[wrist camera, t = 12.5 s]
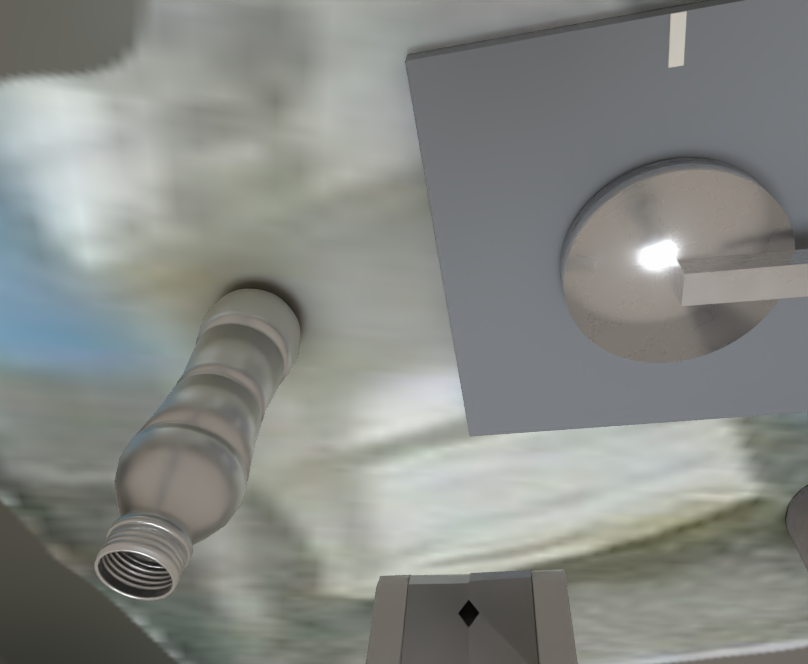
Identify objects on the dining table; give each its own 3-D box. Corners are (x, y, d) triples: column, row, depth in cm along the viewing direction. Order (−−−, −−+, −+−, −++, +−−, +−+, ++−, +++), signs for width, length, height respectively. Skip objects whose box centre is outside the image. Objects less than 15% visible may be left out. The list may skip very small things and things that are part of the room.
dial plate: (407, 54, 33) (404, 61, 32) (973, -48, 29) (998, -45, 27) (469, 422, 47) (469, 437, 46) (853, 393, 43) (866, 409, 42)
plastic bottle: (317, 292, 42) (218, 549, 26) (297, 367, 46) (200, 632, 29) (221, 263, 41) (57, 507, 25) (209, 342, 45) (61, 598, 29)
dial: (561, 350, 41) (576, 424, 35) (558, 171, 34) (575, 227, 28) (859, 329, 38) (928, 407, 32) (919, 130, 31) (1019, 184, 26)
